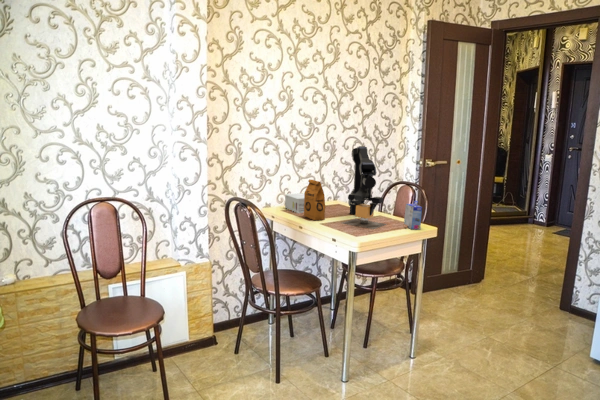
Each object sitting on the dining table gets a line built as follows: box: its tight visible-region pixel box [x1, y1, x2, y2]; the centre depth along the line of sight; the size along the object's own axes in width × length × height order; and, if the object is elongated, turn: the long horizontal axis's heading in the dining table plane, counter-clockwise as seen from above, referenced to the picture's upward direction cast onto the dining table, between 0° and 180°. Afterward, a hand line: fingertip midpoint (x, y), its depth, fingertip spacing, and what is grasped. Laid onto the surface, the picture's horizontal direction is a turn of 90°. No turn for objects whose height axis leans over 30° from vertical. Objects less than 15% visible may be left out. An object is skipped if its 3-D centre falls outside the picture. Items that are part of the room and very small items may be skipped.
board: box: [341, 218, 388, 230], centre depth 240 cm, size 20×16×1 cm
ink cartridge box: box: [403, 200, 423, 230], centre depth 238 cm, size 10×6×14 cm, turn 11°
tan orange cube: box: [354, 203, 375, 219], centre depth 239 cm, size 7×7×6 cm
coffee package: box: [303, 179, 326, 221], centre depth 253 cm, size 10×12×22 cm
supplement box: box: [284, 192, 304, 214], centre depth 278 cm, size 17×13×9 cm
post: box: [360, 217, 369, 224], centre depth 240 cm, size 4×4×5 cm
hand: (364, 214), depth 239 cm, fingers closed on tan orange cube, 7 cm apart
